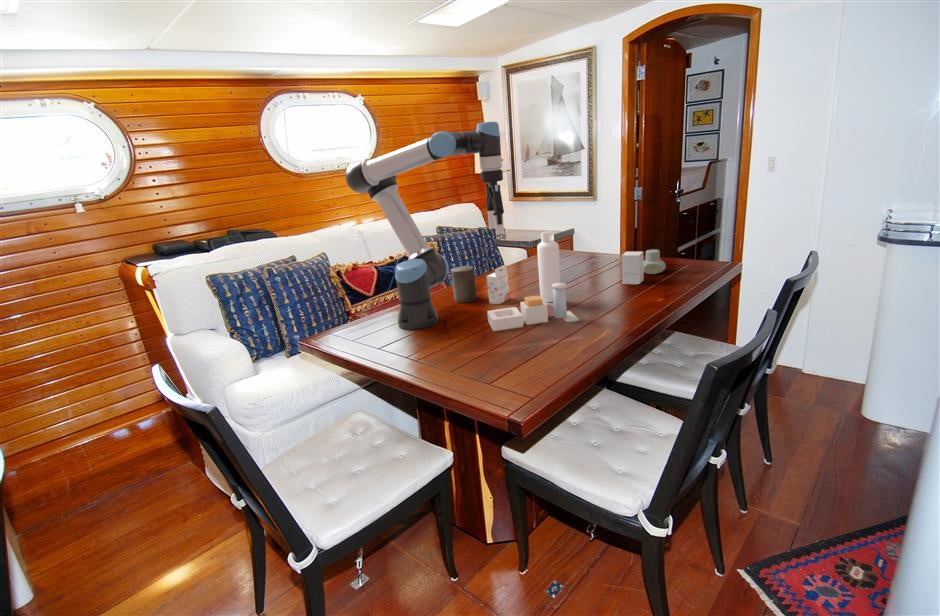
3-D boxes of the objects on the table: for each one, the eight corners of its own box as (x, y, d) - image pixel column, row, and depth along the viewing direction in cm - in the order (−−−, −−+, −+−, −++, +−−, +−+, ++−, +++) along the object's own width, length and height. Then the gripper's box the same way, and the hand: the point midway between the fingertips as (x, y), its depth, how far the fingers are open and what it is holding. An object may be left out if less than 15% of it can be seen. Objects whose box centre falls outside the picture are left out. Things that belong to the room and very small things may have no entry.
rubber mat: (551, 325, 165) (551, 323, 165) (543, 316, 174) (543, 314, 174) (579, 321, 166) (579, 319, 166) (569, 312, 175) (569, 310, 175)
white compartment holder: (493, 333, 163) (492, 314, 161) (488, 324, 173) (486, 305, 170) (549, 325, 165) (548, 306, 163) (541, 316, 175) (539, 298, 172)
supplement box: (644, 280, 205) (644, 251, 201) (639, 285, 199) (639, 255, 195) (626, 279, 209) (626, 251, 205) (621, 284, 203) (621, 254, 199)
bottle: (552, 308, 182) (548, 235, 174) (536, 304, 188) (531, 233, 180) (565, 302, 187) (562, 231, 178) (550, 299, 193) (546, 230, 184)
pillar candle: (480, 299, 202) (476, 265, 198) (458, 304, 199) (454, 269, 195) (471, 295, 211) (468, 261, 207) (451, 299, 208) (447, 265, 204)
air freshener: (639, 275, 213) (639, 253, 210) (639, 270, 220) (639, 249, 217) (666, 274, 209) (666, 252, 206) (665, 270, 217) (665, 248, 214)
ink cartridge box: (500, 297, 203) (497, 263, 198) (510, 298, 200) (507, 264, 195) (488, 303, 196) (485, 268, 192) (498, 304, 193) (495, 269, 189)
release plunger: (529, 323, 166) (527, 301, 164) (525, 318, 171) (524, 297, 169) (543, 321, 167) (542, 299, 164) (539, 316, 172) (538, 295, 169)
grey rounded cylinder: (556, 320, 168) (554, 287, 164) (552, 315, 172) (550, 283, 168) (569, 318, 168) (567, 285, 164) (564, 314, 173) (563, 281, 169)
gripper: (509, 169, 154) (514, 234, 161) (495, 168, 178) (499, 225, 184) (486, 171, 153) (492, 237, 160) (475, 170, 177) (480, 227, 183)
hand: (496, 231), depth 172 cm, fingers open, 13 cm apart
